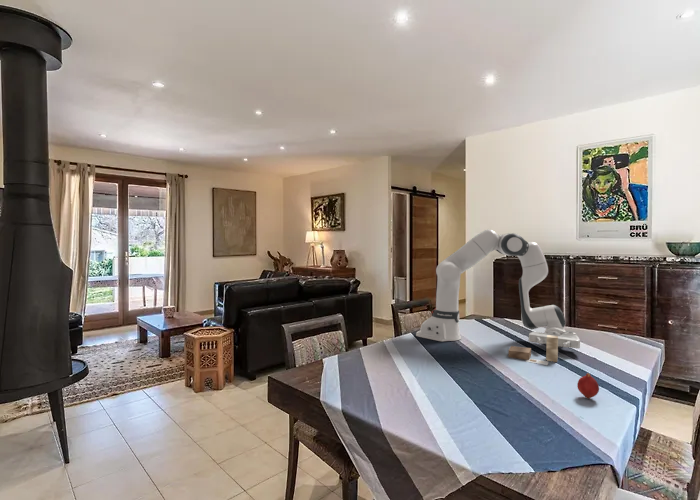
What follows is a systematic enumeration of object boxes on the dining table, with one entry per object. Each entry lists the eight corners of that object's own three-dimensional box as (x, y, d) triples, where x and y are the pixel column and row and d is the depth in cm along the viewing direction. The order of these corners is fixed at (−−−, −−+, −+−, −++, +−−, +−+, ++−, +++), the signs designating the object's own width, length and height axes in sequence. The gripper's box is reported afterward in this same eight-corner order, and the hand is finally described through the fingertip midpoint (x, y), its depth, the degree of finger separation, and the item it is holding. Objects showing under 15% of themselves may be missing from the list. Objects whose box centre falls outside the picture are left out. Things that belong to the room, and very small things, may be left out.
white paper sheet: (525, 361, 154) (525, 361, 154) (527, 358, 158) (527, 357, 158) (547, 365, 149) (547, 364, 149) (548, 362, 154) (548, 361, 154)
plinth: (508, 357, 159) (508, 350, 159) (511, 352, 166) (511, 345, 166) (529, 360, 155) (529, 352, 155) (531, 355, 162) (531, 348, 162)
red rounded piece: (578, 392, 122) (579, 368, 122) (599, 397, 119) (600, 372, 119) (575, 398, 118) (576, 373, 118) (597, 403, 114) (598, 378, 114)
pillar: (546, 360, 156) (546, 336, 155) (546, 358, 159) (547, 334, 159) (556, 362, 153) (557, 338, 153) (557, 359, 157) (558, 336, 157)
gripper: (529, 327, 179) (526, 333, 167) (580, 333, 168) (580, 340, 156) (529, 340, 179) (526, 347, 167) (579, 347, 168) (579, 355, 156)
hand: (552, 343), depth 162 cm, fingers open, 8 cm apart
